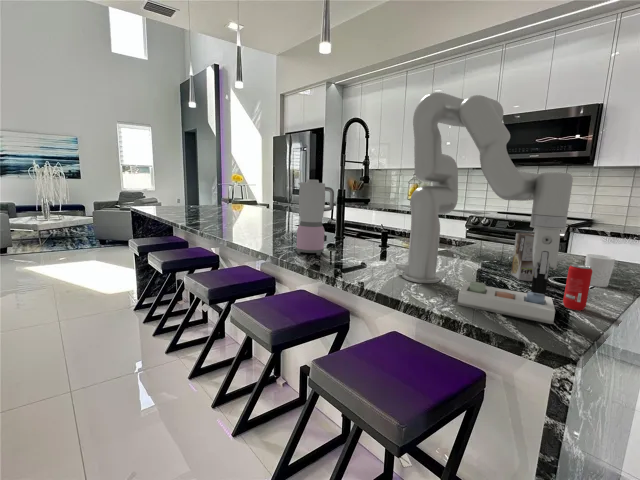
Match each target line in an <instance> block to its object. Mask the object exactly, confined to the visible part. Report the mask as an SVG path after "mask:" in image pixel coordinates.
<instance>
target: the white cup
mask: <svg viewBox="0 0 640 480" xmlns="http://www.w3.org/2000/svg"><path fill="white" fill-rule="evenodd" d="M615 262H616V258H615V257H611V256H608V255H601V254H591V253H590V254H586V255H585V263H584V265H586V266H590V267H592V276H591V282H590V286H592V287H597V288H608V286H609V283H610V279H611V277H612V273H613V270H614V265H615Z"/></svg>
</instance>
